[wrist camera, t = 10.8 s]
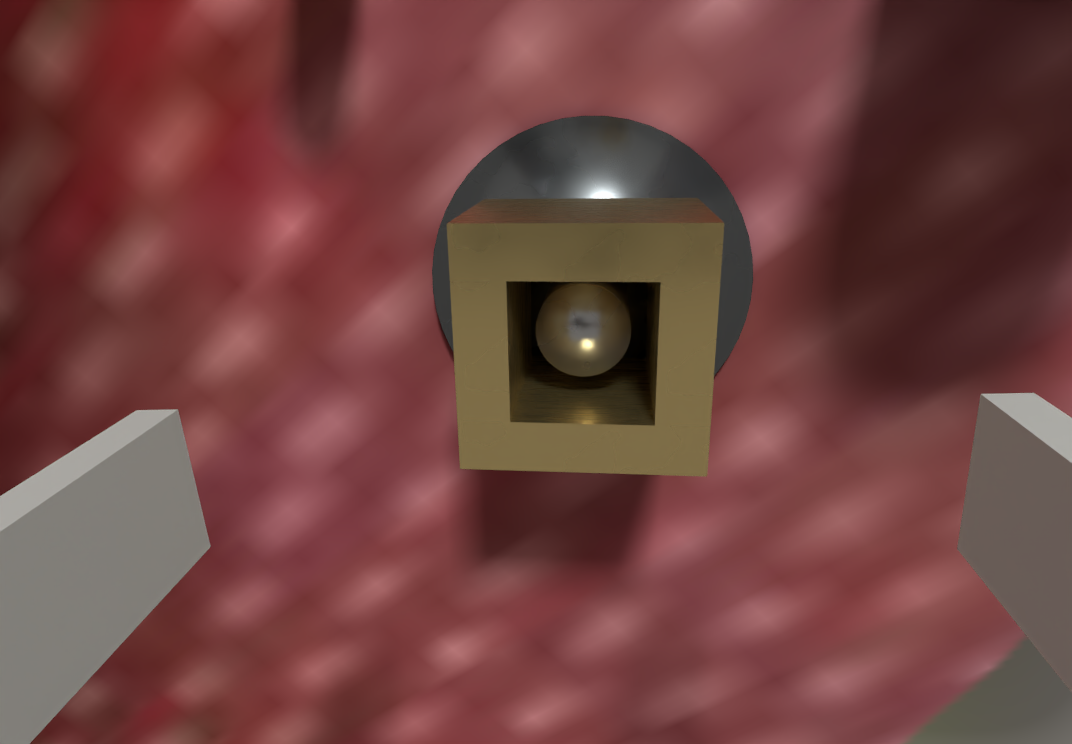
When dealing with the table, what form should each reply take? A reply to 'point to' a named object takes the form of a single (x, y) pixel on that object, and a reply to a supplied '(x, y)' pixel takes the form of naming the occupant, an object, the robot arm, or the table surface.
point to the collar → (600, 400)
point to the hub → (601, 172)
